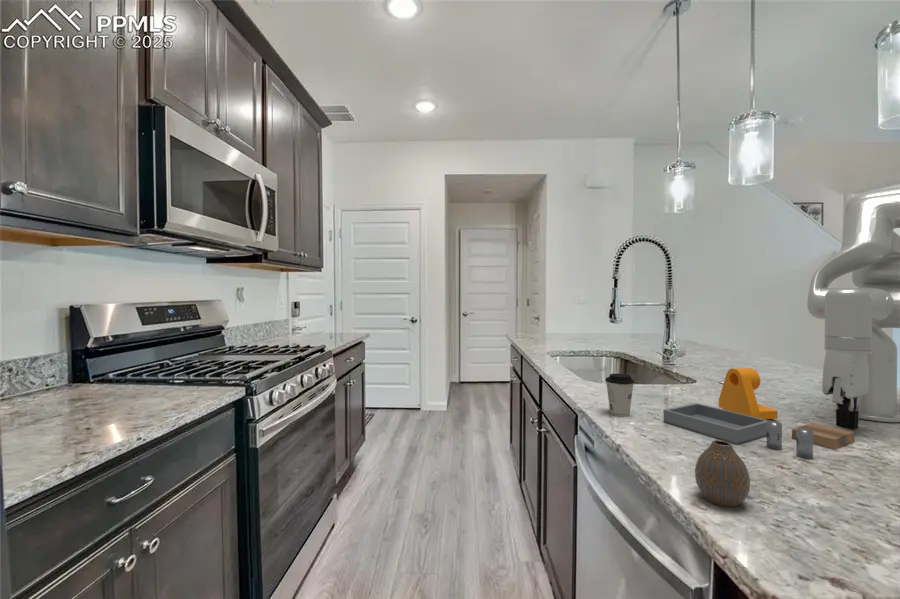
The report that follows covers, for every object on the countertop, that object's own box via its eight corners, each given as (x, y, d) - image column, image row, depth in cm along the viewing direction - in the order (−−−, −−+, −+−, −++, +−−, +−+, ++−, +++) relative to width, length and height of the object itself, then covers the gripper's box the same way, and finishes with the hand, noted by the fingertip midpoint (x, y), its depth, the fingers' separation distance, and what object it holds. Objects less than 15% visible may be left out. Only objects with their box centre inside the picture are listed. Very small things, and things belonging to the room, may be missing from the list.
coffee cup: (605, 416, 104) (604, 377, 103) (605, 409, 110) (605, 372, 110) (635, 419, 101) (635, 379, 101) (634, 411, 107) (633, 373, 107)
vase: (684, 490, 65) (684, 435, 65) (725, 488, 65) (725, 433, 65) (717, 514, 58) (716, 452, 58) (762, 511, 58) (762, 450, 58)
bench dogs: (770, 444, 84) (770, 420, 83) (815, 457, 77) (815, 431, 77) (764, 446, 82) (764, 421, 82) (809, 459, 76) (809, 433, 76)
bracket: (779, 422, 98) (779, 372, 98) (750, 422, 98) (750, 372, 97) (744, 409, 109) (744, 364, 108) (718, 410, 108) (718, 364, 108)
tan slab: (812, 433, 91) (812, 422, 91) (854, 443, 85) (854, 431, 85) (791, 440, 87) (791, 429, 87) (834, 452, 80) (834, 439, 80)
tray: (696, 414, 104) (696, 403, 104) (771, 434, 89) (771, 421, 89) (663, 422, 98) (663, 409, 98) (737, 444, 84) (737, 430, 83)
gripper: (841, 341, 97) (840, 418, 97) (809, 345, 90) (809, 427, 90) (885, 344, 90) (885, 427, 90) (854, 349, 84) (854, 438, 84)
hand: (847, 427), depth 90 cm, fingers closed
